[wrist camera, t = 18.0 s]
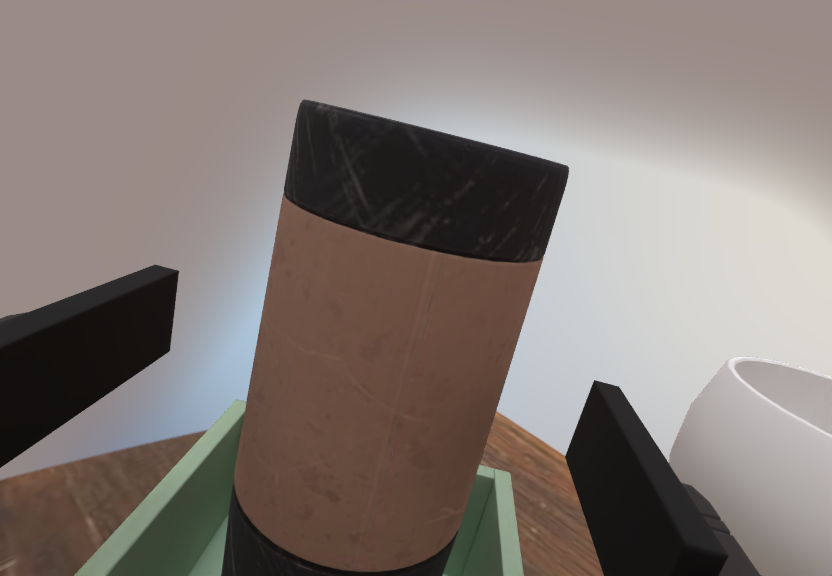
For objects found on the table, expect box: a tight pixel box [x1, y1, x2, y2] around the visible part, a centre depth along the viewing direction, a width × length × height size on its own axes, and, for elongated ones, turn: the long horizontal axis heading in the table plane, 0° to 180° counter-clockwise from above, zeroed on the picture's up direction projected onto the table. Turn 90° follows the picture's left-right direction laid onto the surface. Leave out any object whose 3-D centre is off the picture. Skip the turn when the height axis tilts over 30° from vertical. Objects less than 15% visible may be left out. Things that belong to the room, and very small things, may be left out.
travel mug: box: [221, 100, 569, 576], centre depth 17 cm, size 8×8×20 cm
